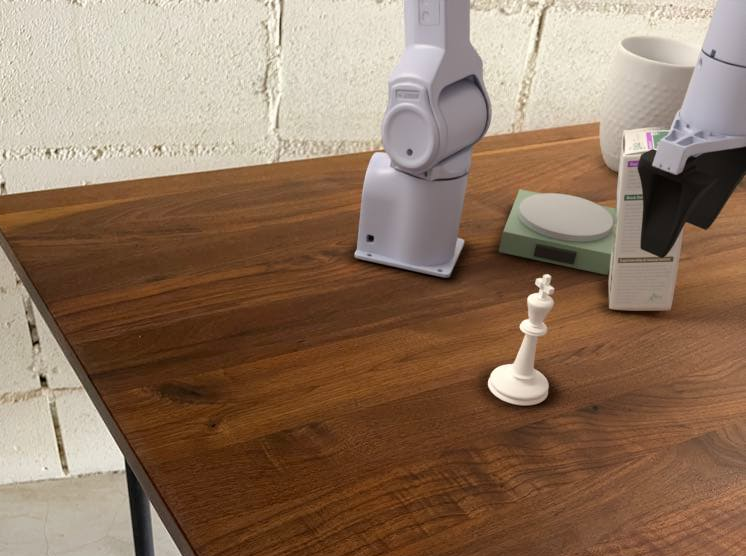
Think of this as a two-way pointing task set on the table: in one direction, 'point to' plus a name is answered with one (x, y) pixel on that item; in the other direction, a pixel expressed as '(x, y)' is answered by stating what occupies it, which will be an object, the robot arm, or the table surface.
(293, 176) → the table surface
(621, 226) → the syrup box
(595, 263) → the scale
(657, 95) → the mug
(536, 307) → the chess piece
